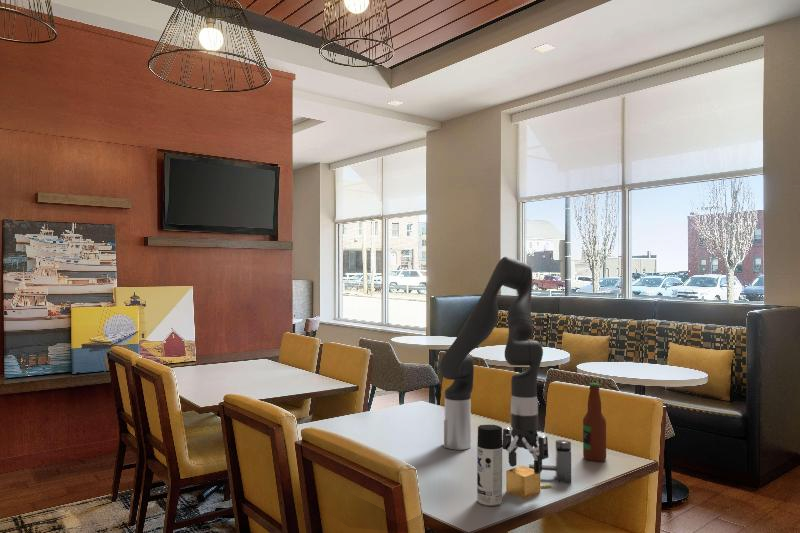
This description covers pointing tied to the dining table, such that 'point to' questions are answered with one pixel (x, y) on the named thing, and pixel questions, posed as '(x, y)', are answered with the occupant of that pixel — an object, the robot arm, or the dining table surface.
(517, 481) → the wooden block
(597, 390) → the bottle
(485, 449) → the spray can
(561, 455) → the grey mallet
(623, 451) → the dining table surface
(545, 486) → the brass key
